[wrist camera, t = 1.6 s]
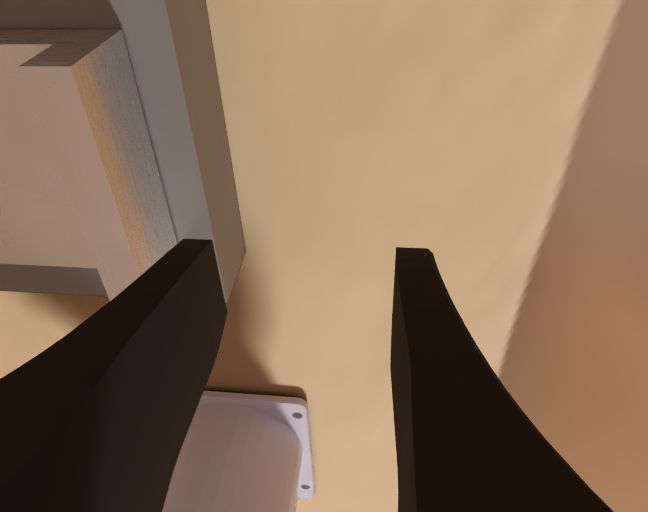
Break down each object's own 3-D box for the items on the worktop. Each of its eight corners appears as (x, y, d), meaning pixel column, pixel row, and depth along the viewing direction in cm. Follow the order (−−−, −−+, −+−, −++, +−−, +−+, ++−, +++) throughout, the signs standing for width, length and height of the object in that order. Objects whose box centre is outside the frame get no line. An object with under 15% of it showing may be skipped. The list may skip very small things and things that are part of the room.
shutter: (178, 248, 18) (148, 304, 16) (-15, 240, 19) (-68, 292, 17) (121, 29, 14) (70, 66, 12) (-128, 30, 14) (-218, 65, 12)
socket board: (245, 251, 22) (226, 303, 19) (-70, 238, 23) (-122, 283, 21) (188, -105, 14) (146, -90, 12) (-270, -89, 16) (-384, -73, 14)
